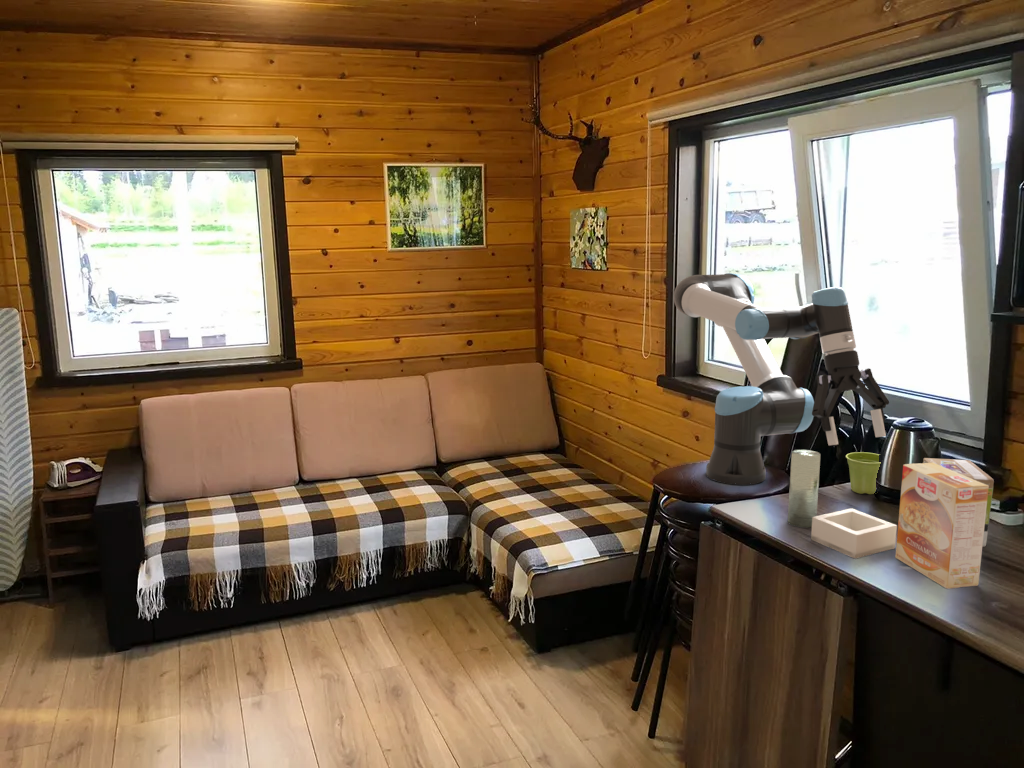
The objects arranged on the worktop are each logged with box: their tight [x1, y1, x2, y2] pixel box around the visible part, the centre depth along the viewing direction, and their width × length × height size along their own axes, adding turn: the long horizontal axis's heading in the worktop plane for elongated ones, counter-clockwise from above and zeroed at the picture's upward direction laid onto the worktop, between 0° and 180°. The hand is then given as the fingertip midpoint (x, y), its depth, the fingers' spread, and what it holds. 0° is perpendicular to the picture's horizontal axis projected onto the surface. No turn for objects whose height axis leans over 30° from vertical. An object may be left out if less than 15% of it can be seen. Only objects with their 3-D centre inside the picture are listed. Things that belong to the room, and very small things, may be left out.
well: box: [810, 507, 898, 559], centre depth 172 cm, size 12×12×5 cm
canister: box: [787, 449, 821, 528], centre depth 183 cm, size 6×6×16 cm
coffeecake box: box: [894, 462, 989, 590], centre depth 157 cm, size 15×7×20 cm, turn 11°
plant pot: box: [845, 451, 881, 495], centre depth 205 cm, size 9×9×9 cm
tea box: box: [922, 457, 995, 548], centre depth 176 cm, size 15×10×15 cm, turn 168°
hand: (857, 440), depth 194 cm, fingers open, 13 cm apart
